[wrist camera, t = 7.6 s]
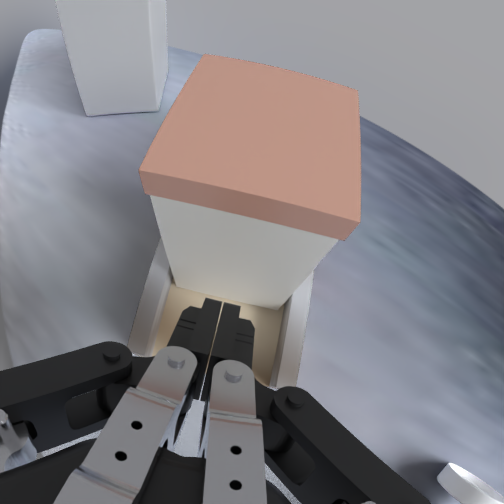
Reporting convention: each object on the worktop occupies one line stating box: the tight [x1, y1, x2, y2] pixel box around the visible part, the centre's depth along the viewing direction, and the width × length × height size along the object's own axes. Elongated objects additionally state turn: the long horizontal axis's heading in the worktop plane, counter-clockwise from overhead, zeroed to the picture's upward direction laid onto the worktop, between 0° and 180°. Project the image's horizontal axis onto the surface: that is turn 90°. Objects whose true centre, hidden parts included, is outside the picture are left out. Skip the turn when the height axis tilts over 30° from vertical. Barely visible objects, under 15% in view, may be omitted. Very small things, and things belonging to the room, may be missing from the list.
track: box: [127, 237, 314, 389], centre depth 19 cm, size 18×9×6 cm, turn 168°
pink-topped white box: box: [139, 54, 361, 310], centre depth 15 cm, size 6×6×11 cm
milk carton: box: [55, 0, 168, 116], centre depth 18 cm, size 7×7×19 cm
